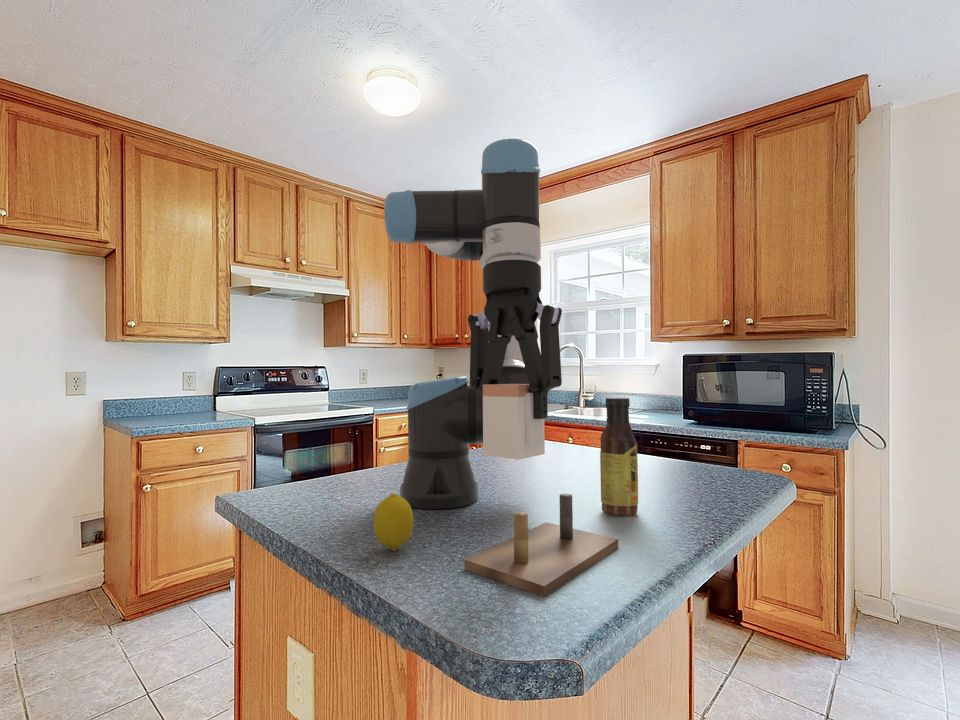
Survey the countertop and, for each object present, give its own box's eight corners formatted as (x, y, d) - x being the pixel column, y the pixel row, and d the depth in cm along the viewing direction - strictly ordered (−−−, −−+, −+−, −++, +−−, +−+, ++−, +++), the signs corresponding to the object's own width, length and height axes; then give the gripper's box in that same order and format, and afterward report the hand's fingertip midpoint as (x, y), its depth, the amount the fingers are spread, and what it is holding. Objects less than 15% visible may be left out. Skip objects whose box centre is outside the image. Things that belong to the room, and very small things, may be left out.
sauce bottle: (640, 519, 83) (638, 399, 83) (601, 517, 85) (600, 399, 85) (636, 507, 90) (634, 396, 90) (600, 506, 91) (598, 396, 91)
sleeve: (483, 455, 64) (482, 384, 64) (510, 450, 68) (509, 383, 69) (518, 459, 60) (517, 384, 61) (544, 454, 65) (543, 383, 65)
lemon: (376, 544, 73) (375, 489, 73) (414, 542, 74) (414, 488, 74) (371, 559, 68) (370, 499, 68) (412, 557, 68) (412, 498, 68)
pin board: (464, 569, 64) (463, 512, 64) (546, 529, 78) (545, 483, 79) (544, 596, 56) (543, 532, 56) (618, 547, 71) (617, 496, 71)
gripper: (440, 270, 69) (441, 441, 68) (557, 245, 56) (560, 453, 55) (477, 278, 74) (478, 436, 73) (590, 256, 62) (594, 446, 61)
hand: (514, 443), depth 64 cm, fingers closed on sleeve, 6 cm apart
